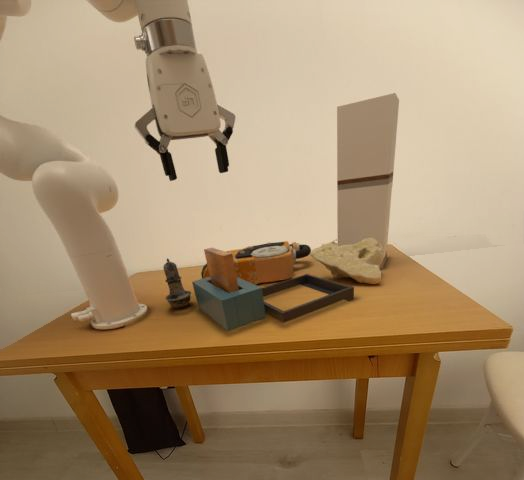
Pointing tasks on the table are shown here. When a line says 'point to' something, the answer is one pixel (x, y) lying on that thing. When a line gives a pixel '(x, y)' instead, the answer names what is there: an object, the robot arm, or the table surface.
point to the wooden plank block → (221, 269)
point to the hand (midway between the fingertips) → (199, 176)
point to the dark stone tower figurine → (175, 287)
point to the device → (265, 261)
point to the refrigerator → (365, 169)
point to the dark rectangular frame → (316, 283)
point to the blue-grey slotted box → (230, 303)
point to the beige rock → (352, 260)
